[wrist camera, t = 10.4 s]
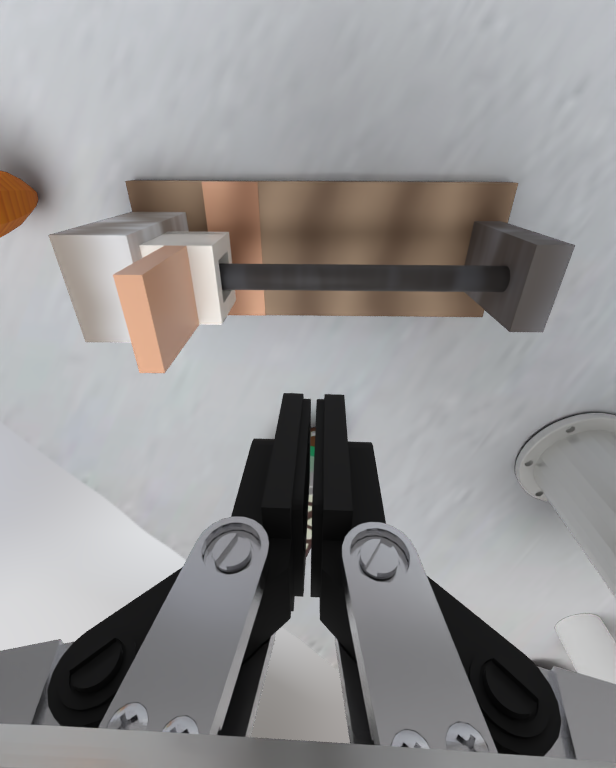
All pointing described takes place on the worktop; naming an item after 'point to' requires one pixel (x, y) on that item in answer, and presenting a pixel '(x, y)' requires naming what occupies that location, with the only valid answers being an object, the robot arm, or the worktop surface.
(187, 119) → the worktop surface
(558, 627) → the cylindrical container
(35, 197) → the carrot
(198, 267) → the sleeve
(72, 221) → the worktop surface
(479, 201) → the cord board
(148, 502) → the worktop surface
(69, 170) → the worktop surface
